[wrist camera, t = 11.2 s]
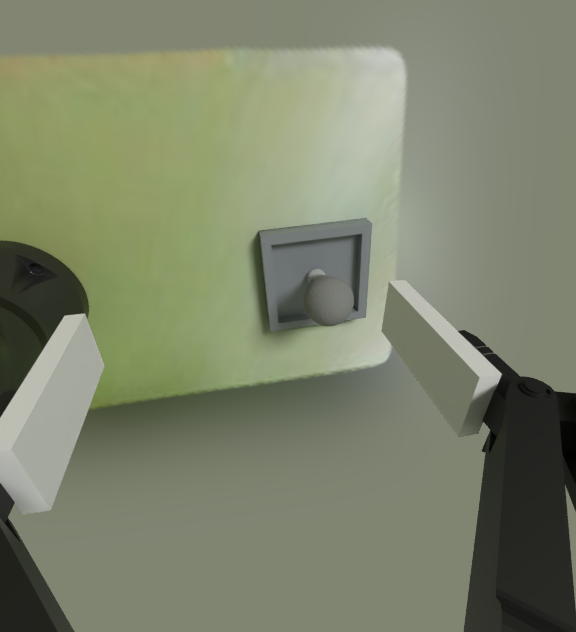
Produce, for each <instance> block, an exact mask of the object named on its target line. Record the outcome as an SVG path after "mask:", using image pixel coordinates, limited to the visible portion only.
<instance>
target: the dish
mask: <svg viewBox="0 0 576 632" xmlns="http://www.w3.org/2000/svg"><path fill="white" fill-rule="evenodd" d="M371 231H372V223H371V222H370V221H369V220H367V219H366V218H362V219H354V220H346V221H337V222H329V223H320V224H312V225H304V226H295V227H287V228H278V229H270V230H262V231H259V239H260V248H261V257H262V266H263V276H264V285H265V294H266V303H267V312H268V321H269V327H270V331H271V332H273V331H280V330H287V329H293V328H300V327H306V326H313V325H320V324H317V323H316V322H314V321H313V320H312V319H311V318H309V316H308V315H307V313H306V311H305V308H304V295H305V292H306V290H307V288H308V286H309V285H308V282H307V275H308V274H309V272H310V271H312V270H314V269H321V270H322V271H323V272H324V273H325V275H326V276H333V277H337V278H339V279H341V280H343V281H344V282H346V283H347V284H348V285H349V287H350V288H351V290H352V292H353V296H354V305H353V309H352V312H351V313H350V315H349V316H348V318H347V319H346V320H352V319H359V318H366V307H367V292H368V277H369V262H370V246H371ZM346 320H344V321H346Z"/></svg>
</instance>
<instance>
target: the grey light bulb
mask: <svg viewBox="0 0 576 632" xmlns="http://www.w3.org/2000/svg"><path fill="white" fill-rule="evenodd" d="M307 282H308V285H309V286H308V288H307V290H306V292H305V295H304V308H305V311H306V313H307V315H308V316H309V318H311V319H312V320H313V321H314V322H316V323H317V324H320V325H323V326H334V325H337V324H340V323H342V322H343V321H344V320H346V319H347V318H348V316H349V315H350V313H351V312H352V309H353V305H354V296H353V292H352V290H351V288H350V287H349V285H348V284H347V283H346V282H344V281H343V280H341V279H339V278H337V277H333V276H326V275H325V273H324V272H323V271H322V270H321V269H314V270H312V271H310V272H309V274H308V275H307Z"/></svg>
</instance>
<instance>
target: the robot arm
mask: <svg viewBox="0 0 576 632" xmlns="http://www.w3.org/2000/svg"><path fill="white" fill-rule="evenodd" d="M88 312H89V305H88V299H87V295H86V292H85V290H84V288H83V286H82V284H81V283H80V281H79V280H78V278H77V277H76V276H75V274H74V273H73V272H72V271H71V270H70V269H69V268H68V267H67V266H66V265H64V264H63V263H62V262H61V261H59V260H58V259H56V258H55V257H53V256H52V255H50V254H48V253H46V252H44V251H42V250H40V249H37V248H35V247H32V246H29V245H26V244H22V243H17V242H11V241H0V632H74V631H73V629H72V627H71V625H70V623H69V621H68V620H67V618H66V616H65V615H64V613H63V611H62V610H61V608H60V606H59V604H58V602H57V601H56V599H55V597H54V595H53V594H52V592H51V590H50V588H49V587H48V585H47V583H46V582H45V580H44V578H43V576H42V575H41V573H40V571H39V569H38V568H37V566H36V564H35V562H34V561H33V559H32V557H31V555H30V554H29V552H28V550H27V548H26V547H25V545H24V543H23V542H22V540H21V538H20V536H19V535H18V533H17V531H16V529H15V528H14V526H13V524H12V523H11V521H10V520H9V519H8V515H9V514H10V511H11V509H12V507H13V505H14V504H15V506H16V507H17V508H18V510H19V511H20V513H21V514H22V515H26V514H31V513H37V512H43V511H48V510H51V509H52V506H53V503H54V501H55V498H56V495H57V492H58V490H59V487H60V484H61V482H62V479H63V476H64V474H65V471H66V468H67V466H68V463H69V460H70V457H71V454H72V452H73V449H74V447H75V444H76V441H77V439H78V436H79V433H80V430H81V428H82V425H83V422H84V420H85V417H86V414H87V412H88V409H89V406H90V404H91V401H92V398H93V395H94V393H95V390H96V387H97V385H98V382H99V379H100V377H101V374H102V371H103V369H104V363H103V361H102V358H101V355H100V353H99V350H98V347H97V344H96V342H95V339H94V336H93V334H92V331H91V328H90V326H89V323H88V320H87V318H88ZM382 332H383V333H384V335H385V336H386V338H387V339H388V340H389V342H390V343H391V345H392V346H393V347H394V349H395V350H396V351H397V353H398V354H399V356H400V357H401V358H402V360H403V361H404V362H405V364H406V365H407V366H408V368H409V369H410V370H411V372H412V373H413V375H414V376H415V378H416V379H417V381H418V382H419V383H420V384H421V386H422V387H423V389H424V390H425V391H426V393H427V394H428V396H429V397H430V399H431V400H432V401H433V403H434V404H435V405H436V407H437V408H438V410H439V411H440V412H441V414H442V415H443V416H444V418H445V419H446V421H447V422H448V423H449V425H450V426H451V427H452V429H453V430H454V432H455V433H456V434H457V436H458V437H462V436H467V435H473V434H478V433H479V431H480V428H481V425H482V423H483V422H484V423H485V424H486V425H487V426H488V428H489V429H490V432H489V435H488V437H487V439H486V442H485V444H484V446H483V449H482V451H483V452H486V453H485V454H486V455H485V462H484V470H483V478H482V486H481V494H480V503H479V511H478V519H477V527H476V536H475V543H474V552H473V560H472V568H471V576H470V584H469V592H468V601H467V609H466V617H465V625H464V632H576V610H575V600H574V599H575V598H574V586H573V574H572V563H571V551H570V541H569V540H570V539H569V527H568V516H567V504H566V494H565V493H566V492H565V485H566V488H567V490H568V493H569V495H570V498H571V501H572V503H573V506H574V508H575V510H576V393H565V392H555V391H554V390H553V389H552V388H551V387H550V386H548V385H547V384H545V383H544V382H542V381H539V380H537V379H534V378H530V377H520V376H519V375H518V374H517V373H516V372H515V371H514V370H512V369H511V368H510V367H509V366H508V365H507V364H506V363H505V362H504V361H503V360H502V359H501V358H500V357H498V356H497V355H496V354H494V353H493V351H492V350H491V349H490V348H489V347H486V345H485V344H484V343H483V342H482V341H481V340H480V339H479V338H478V337H476V336H474V335H473V334H470V333H469V332H467V331H465V330H462V331H457V330H456V329H455V328H454V327H453V326H452V325H451V324H450V323H449V322H447V320H445V319H444V318H443V317H442V316H441V315H440V314H439V313H438V312H437V311H436V310H435V309H434V308H433V307H432V306H431V305H430V304H429V303H428V302H427V301H426V300H425V299H424V298H423V297H422V296H421V295H420V294H418V292H416V291H415V290H414V289H413V288H412V287H411V286H410V285H409V284H408V283H407V282H406V281H405V280H400V281H390V282H389V285H388V292H387V298H386V305H385V312H384V318H383V325H382Z"/></svg>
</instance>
